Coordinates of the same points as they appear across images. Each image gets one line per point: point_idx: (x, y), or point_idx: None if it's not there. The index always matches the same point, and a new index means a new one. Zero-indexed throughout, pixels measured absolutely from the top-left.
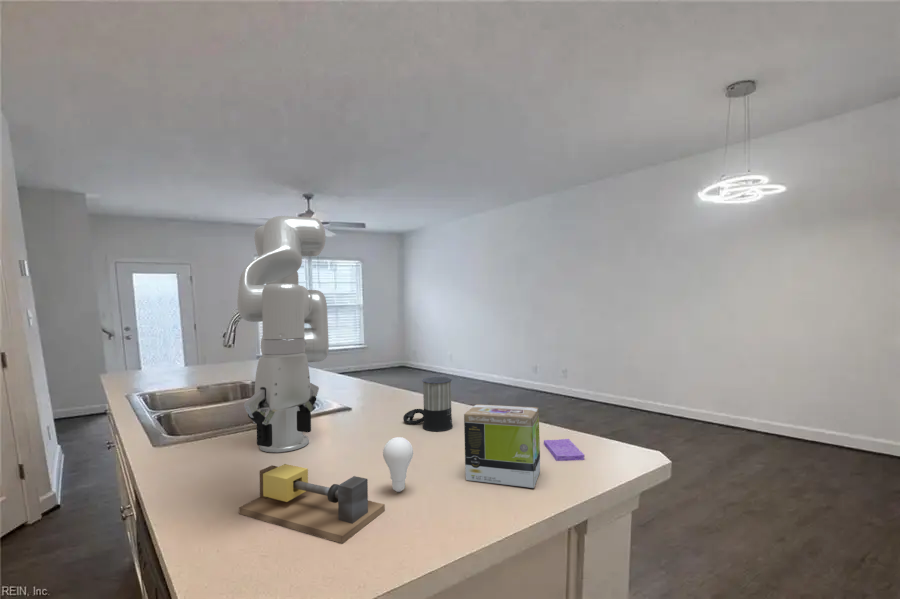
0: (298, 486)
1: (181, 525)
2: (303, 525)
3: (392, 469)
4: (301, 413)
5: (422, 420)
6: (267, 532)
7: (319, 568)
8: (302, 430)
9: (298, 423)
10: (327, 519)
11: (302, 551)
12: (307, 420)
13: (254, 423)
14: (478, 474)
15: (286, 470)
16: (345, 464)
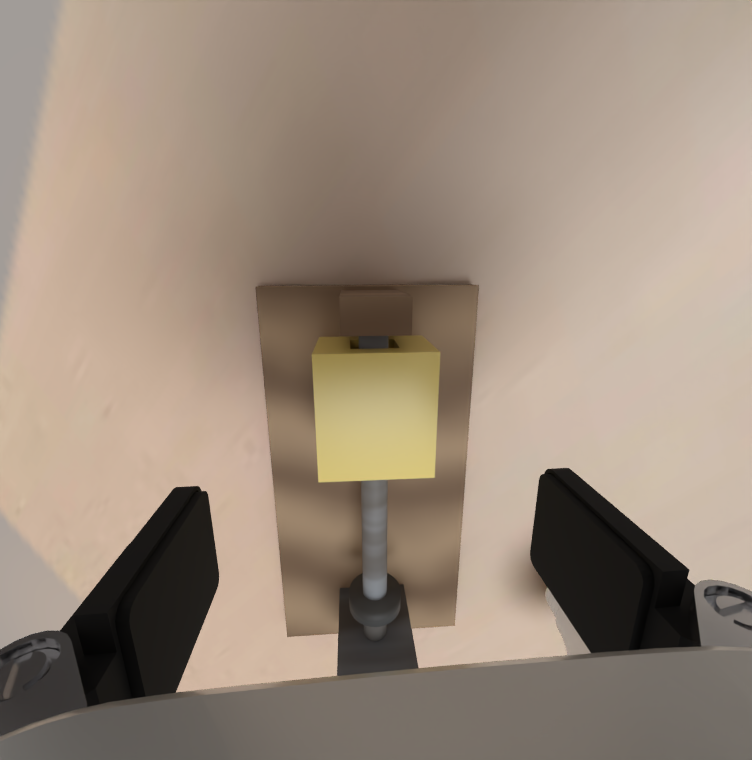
0: None
1: (107, 167)
2: (278, 536)
3: (568, 651)
4: (626, 621)
5: None
6: (234, 450)
7: (200, 638)
8: (537, 523)
9: (569, 518)
10: (329, 565)
11: (222, 576)
12: (576, 627)
13: (17, 646)
14: None
15: (383, 417)
16: (713, 321)
